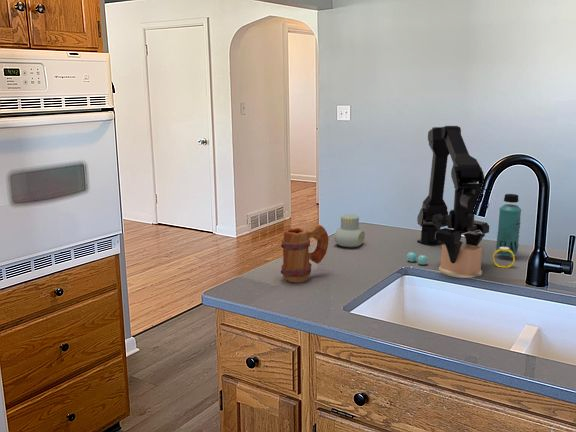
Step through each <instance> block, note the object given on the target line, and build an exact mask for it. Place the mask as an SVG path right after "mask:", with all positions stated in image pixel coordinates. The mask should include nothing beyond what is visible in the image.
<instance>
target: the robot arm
mask: <svg viewBox="0 0 576 432" xmlns="http://www.w3.org/2000/svg"><path fill="white" fill-rule="evenodd" d="M427 142H428V146H429V148H430V150H431V152H432V161H431V170H430V177H429V179H430V180H429V187H428V195H427V196H426V198H425V199H424V200H423V201H422V206H421V208H420V210H419V213H418V214H417V217H416V218H417V219H416V220H417V224H418V226H420V227H421V231H420V232H421V235H420V239H418V240H417V243H421V244H425V245H428V246H436V245H440V244H445V246H446V248H447V251H448V254H449V258H450V261H451V263H455V262H456V259H457V256H458V254H459V251H460V248H461V245H462V243H463V241H461V239H462V236H464V237H465V244H470V245H474V246H478V247H479V244H480V243H481V242H482V240H483V239H484V237H485V236H486V234H489V233H490V225H489V224H488V222H485V221H480V220H475V215H474V214H473V210H474V207H475V205H476V203H477V199H478V196H479V194H480V191H481V190H482V189H481V187H482V184H483V181H484V178H485V179H486V177H485V175H484V171H483V169H482V167H481V165H480V163H479V162H478V159H476V158H474V157H473V156H471V155H470V154H469V151H468V149H467V146H466V143H465V141H464V138H463V136H462V129H461V127H460V126H458V125H445V126H435V127H434V126H433V127H432V128H431V129H430V130H429V131H428V132H427ZM449 155H450V158H451V161H452V168H451V171H450V177H451V181H452V183H453V188H454V198H453V199H454V200H453V209H451V210H449V211H448V206H447V204H446V202H445V200H444V192H445V183H446V175H447V173H446V172H447V165H448V157H449ZM489 203H490V201H488V206H487V210H488V209H489Z"/></svg>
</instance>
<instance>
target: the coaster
mask: <svg viewBox="0 0 576 432" xmlns="http://www.w3.org/2000/svg"><path fill="white" fill-rule="evenodd" d="M438 272H439V273H440V274H442V275H445V276H448V277H452V278H457V279H458V278H459V279H473V278H478V277H480V276H482V275H483V270H482V269H480V271H479V272H476V273H474V274H471V275H468V276H467V275H463V274H460V273H456V272H452V271H449V270H445V269H442V268H441V265H439V267H438Z"/></svg>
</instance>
